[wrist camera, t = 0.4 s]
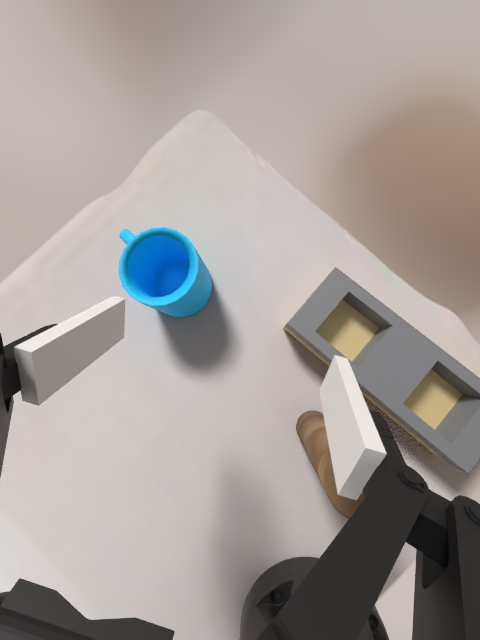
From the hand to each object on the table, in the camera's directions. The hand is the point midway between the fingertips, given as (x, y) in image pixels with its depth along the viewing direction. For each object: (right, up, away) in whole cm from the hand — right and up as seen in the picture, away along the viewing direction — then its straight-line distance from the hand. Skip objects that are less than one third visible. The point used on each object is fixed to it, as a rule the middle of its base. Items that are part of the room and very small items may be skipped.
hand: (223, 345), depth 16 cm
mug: (-8, +7, +19) cm, 22 cm away
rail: (+17, -3, +15) cm, 23 cm away
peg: (+10, -11, +15) cm, 21 cm away
